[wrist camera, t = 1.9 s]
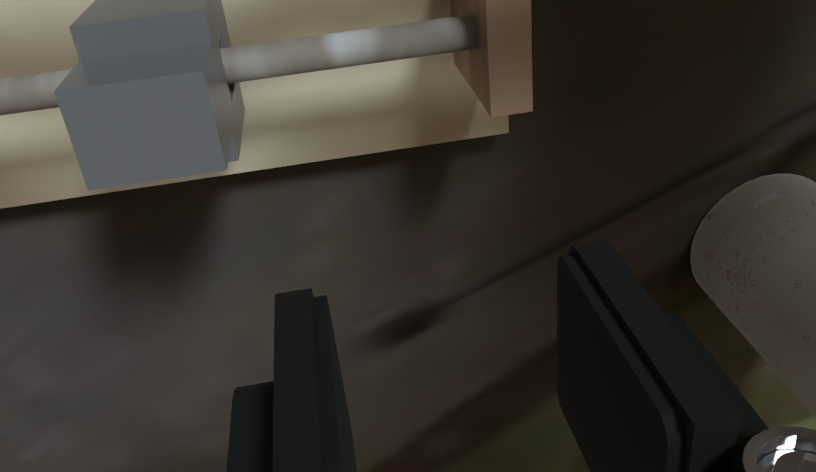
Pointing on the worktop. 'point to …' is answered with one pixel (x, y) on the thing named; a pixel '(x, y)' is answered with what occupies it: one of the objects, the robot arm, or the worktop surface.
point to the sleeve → (150, 92)
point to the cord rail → (288, 82)
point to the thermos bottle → (766, 272)
